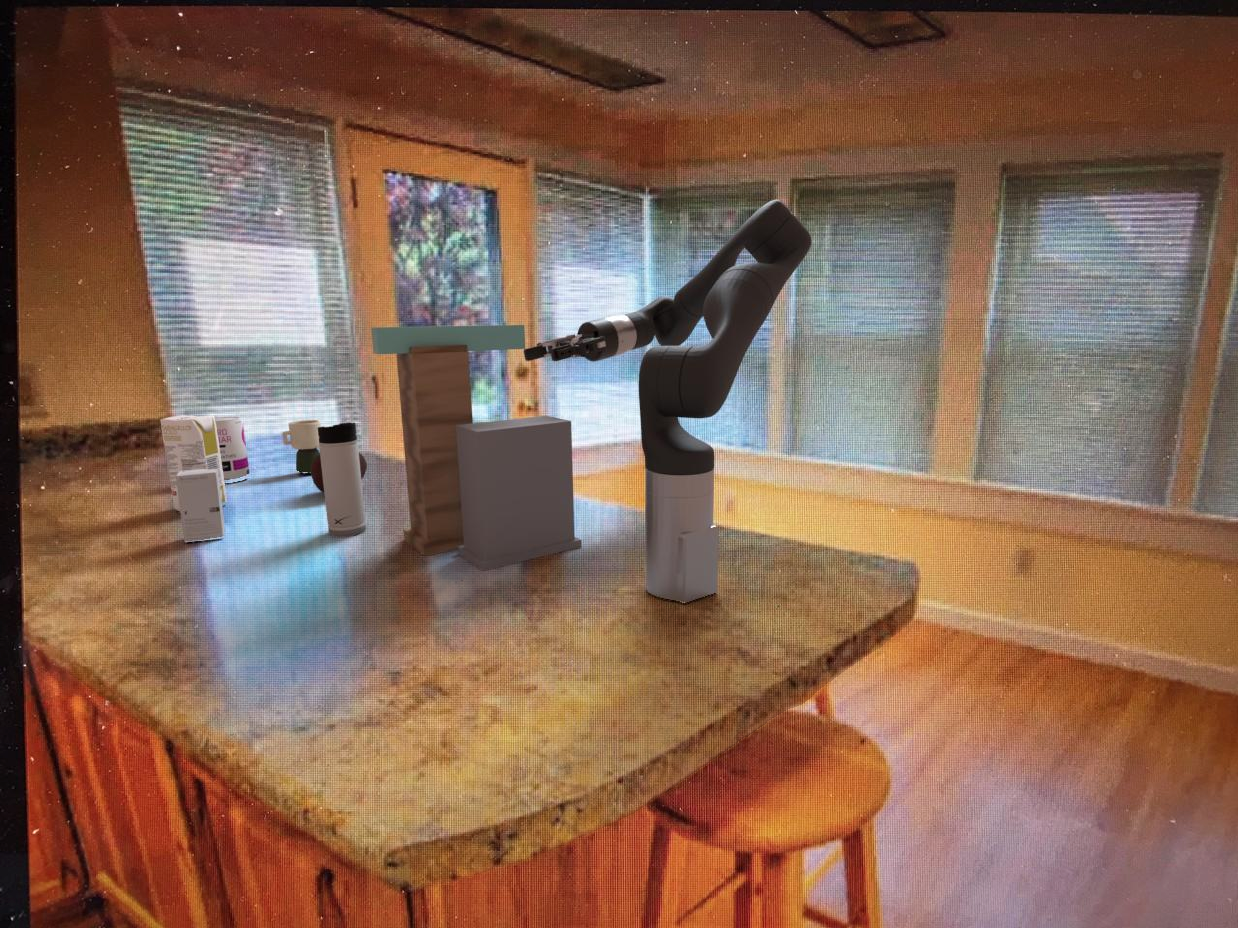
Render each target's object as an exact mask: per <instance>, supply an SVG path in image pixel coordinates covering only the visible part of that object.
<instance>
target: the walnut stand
mask: <svg viewBox="0 0 1238 928" xmlns="http://www.w3.org/2000/svg"><path fill="white" fill-rule="evenodd" d="M409 351H410V353H403V354H395V355H396V365H397V367H396V368H397V375H398V376H397V378H398V389H399V401H400V414H401V425H402V436H403V448H404V462H405V463H404V464H405V471H406V472H405V473H406V482H407V483H406V485H407V497H408V508H409V509H408V510H409V519H410V520H409V521H410V522H409V523H410V527H406V528H403V540H404V542H406V543H407V544H409V545H410V546H411V547H413V548H414V549H415V550H416V551H417V552H418V553H420V554H421V555H423V556H425V557H426V556H431V555H435V554H441V553H445V552H449V551H453V550H458V547H457V546H462V545H464V538H463V523H462V508H461V493H460V478H459V463H458V448H457V432H456V425H464V424H473V423H474V420H473V419H474V418H473V404H472V403H473V402H472V388H471V387H472V386H471V385H472V384H471V370H470V357H469V355H470V353H469V352H470V351H468V348H467V345H449V346H421V347H409Z"/></svg>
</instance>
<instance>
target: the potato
mask: <svg viewBox="0 0 1238 928" xmlns="http://www.w3.org/2000/svg"><path fill="white" fill-rule="evenodd" d="M359 461H360V472H361V481H363V479H364V476H365V475H366V472H367V470H368V469H367V467H368V463H367V461H366V458H365V456H363V454H362V453H360V452H359ZM310 476H311V478H312V481H313V484H314V485H315V486H316V488H317V489H318V490H319V491H320V492H321V493H323V494H324V485H323V476H322V467H321V458H320V453H319V454H318V455H317V456H316V458H315V459H314V460H313V463H312V466H311V473H310Z"/></svg>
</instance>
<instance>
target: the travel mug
mask: <svg viewBox="0 0 1238 928" xmlns="http://www.w3.org/2000/svg"><path fill="white" fill-rule="evenodd" d="M356 425H357V424H356V422H342V423H339V424H333V425H331V426H321V427H318V436H319V445H320V446H319V447H318V449H319V452H320V458H321V467H322V476H323V485H324V493H323V494H324V500H325V502H324V503H325V509H326V519H327V525H328V527H327V529H328V534H329V535H330V536H332V537H336V536H337V537H339V538H345V537H351V536H352V537H353V536H356V535H357V536H358V535H359V534H360V535H361V534H362V533H364V532H365V531H366V529H367V525H366V516H365V515H366V514H365V503H364V493H363V484H362V483H363V482H362V480H361V472H360V461H359V453H360V452H359V444H358V437H357V426H356Z"/></svg>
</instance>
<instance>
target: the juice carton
mask: <svg viewBox="0 0 1238 928" xmlns="http://www.w3.org/2000/svg"><path fill="white" fill-rule="evenodd" d="M215 418H216V417H215V415H214V414H209V415H200V416H199V415H192V414H191V415H190V414H180V415H174V416H169V417H164V418H160V426H161V427H160V428H161V435H162V440H163V448H164V451H165V452H164V453H165V454H164V455H165V458H166V467H167V472H168V478H169V484H170V488H171V496H172V502H173V507H174V510H175V509H180V505H179V497H178V489H177V482H176V476H177V474H178V472H179V471H187V470H198V469H214V468H217V469H218V473H219V482H220V491H221V500H222V503H223V502H227V492H226V491H227V490H226V484H225V483H224V476H223V469H222V462H221V455H220V448H219V441H218V434H217V427H216V422H215Z"/></svg>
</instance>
